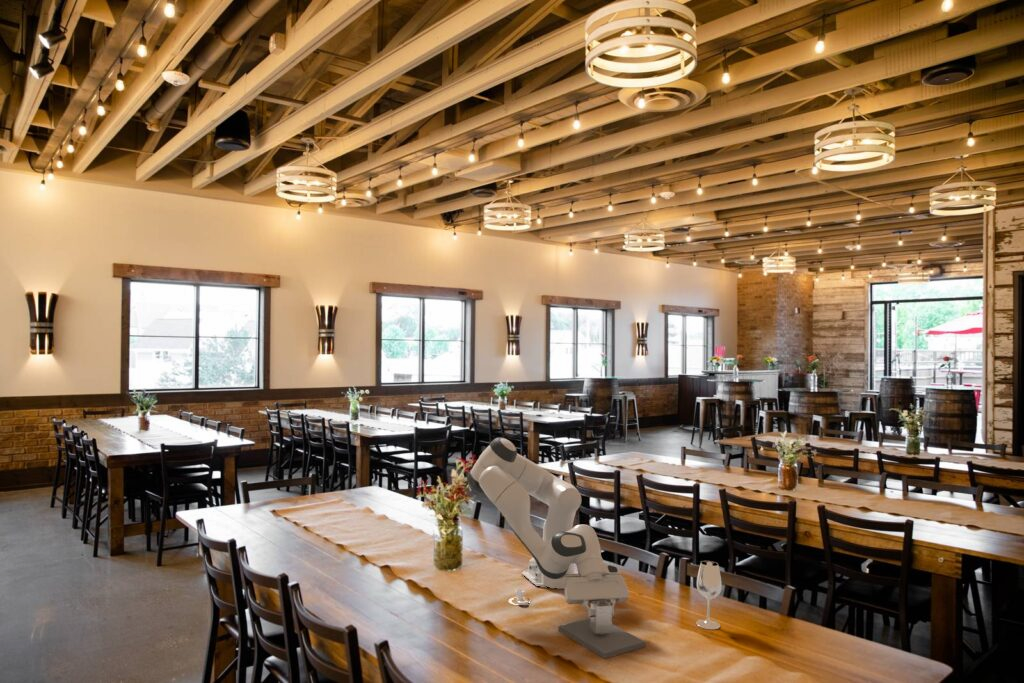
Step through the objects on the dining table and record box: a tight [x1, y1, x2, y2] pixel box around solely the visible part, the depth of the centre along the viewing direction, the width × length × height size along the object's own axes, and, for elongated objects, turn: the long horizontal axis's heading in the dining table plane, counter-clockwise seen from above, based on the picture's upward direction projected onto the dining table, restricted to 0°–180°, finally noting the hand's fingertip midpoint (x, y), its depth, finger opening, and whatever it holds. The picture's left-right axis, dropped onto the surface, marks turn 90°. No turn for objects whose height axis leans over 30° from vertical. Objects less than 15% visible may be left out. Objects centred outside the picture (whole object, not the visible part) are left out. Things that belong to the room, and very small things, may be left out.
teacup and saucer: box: [508, 589, 531, 606], centre depth 234 cm, size 9×8×4 cm
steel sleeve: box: [589, 600, 613, 634], centre depth 205 cm, size 5×5×8 cm
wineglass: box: [695, 560, 722, 630], centre depth 219 cm, size 8×8×20 cm
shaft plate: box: [557, 617, 646, 659], centre depth 205 cm, size 22×16×10 cm
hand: (601, 615), depth 205 cm, fingers closed on steel sleeve, 5 cm apart
